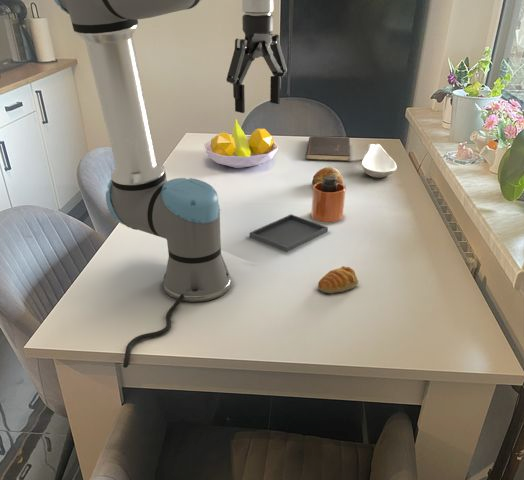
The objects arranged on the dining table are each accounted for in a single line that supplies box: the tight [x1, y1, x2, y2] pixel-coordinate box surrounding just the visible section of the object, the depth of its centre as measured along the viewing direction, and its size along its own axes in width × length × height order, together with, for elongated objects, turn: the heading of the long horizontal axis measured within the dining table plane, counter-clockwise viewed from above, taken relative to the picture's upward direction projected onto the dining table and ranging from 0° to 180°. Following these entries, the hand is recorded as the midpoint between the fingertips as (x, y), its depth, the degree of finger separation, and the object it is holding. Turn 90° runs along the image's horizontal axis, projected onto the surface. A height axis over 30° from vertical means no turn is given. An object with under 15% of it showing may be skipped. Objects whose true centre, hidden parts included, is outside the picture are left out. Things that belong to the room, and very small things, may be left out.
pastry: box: [317, 265, 359, 294], centre depth 124 cm, size 9×7×4 cm
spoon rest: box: [361, 143, 398, 179], centre depth 189 cm, size 24×12×7 cm, turn 0°
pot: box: [311, 182, 346, 223], centre depth 155 cm, size 9×9×9 cm
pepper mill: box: [321, 176, 338, 192], centre depth 154 cm, size 4×4×11 cm
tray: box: [249, 214, 329, 253], centre depth 147 cm, size 17×13×2 cm
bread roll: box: [311, 166, 344, 186], centre depth 176 cm, size 10×10×8 cm
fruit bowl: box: [203, 118, 279, 169], centre depth 195 cm, size 28×27×11 cm
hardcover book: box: [305, 135, 351, 163], centre depth 207 cm, size 16×23×2 cm
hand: (257, 107), depth 144 cm, fingers open, 13 cm apart
